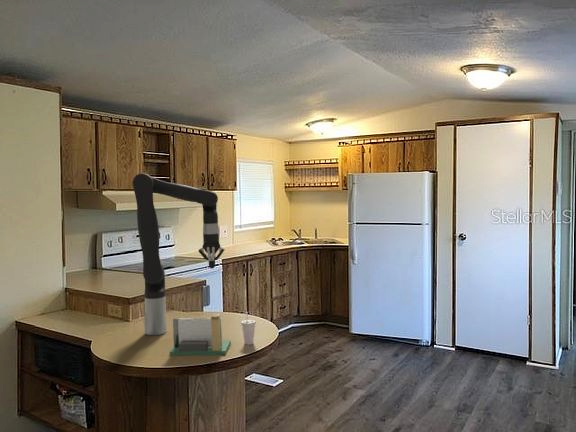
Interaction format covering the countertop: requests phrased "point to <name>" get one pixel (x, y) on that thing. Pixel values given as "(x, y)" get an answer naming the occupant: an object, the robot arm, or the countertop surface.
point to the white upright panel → (193, 330)
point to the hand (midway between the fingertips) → (212, 268)
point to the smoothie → (248, 330)
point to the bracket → (205, 343)
